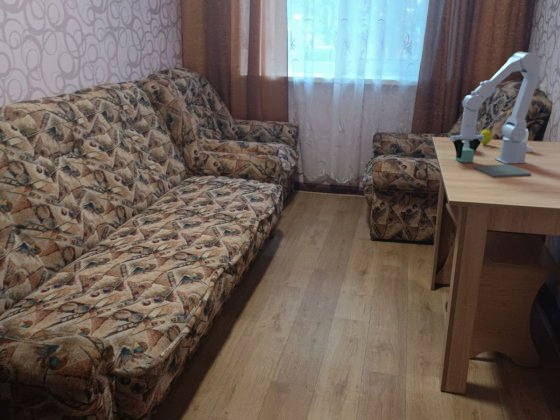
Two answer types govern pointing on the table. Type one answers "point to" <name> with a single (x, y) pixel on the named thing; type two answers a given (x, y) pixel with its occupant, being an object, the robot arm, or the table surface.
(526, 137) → the cable organizer
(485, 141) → the fruit
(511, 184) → the table surface
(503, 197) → the table surface
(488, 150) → the table surface
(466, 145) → the medicine box
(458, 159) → the cube
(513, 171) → the grey blue flat plate
